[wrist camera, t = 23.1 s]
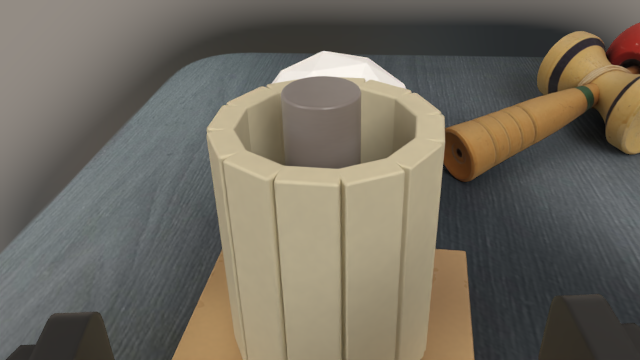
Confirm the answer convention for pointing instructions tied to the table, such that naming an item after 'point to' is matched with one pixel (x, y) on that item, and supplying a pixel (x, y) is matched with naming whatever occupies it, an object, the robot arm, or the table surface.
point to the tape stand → (332, 152)
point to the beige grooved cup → (329, 230)
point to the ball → (337, 69)
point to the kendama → (558, 104)
